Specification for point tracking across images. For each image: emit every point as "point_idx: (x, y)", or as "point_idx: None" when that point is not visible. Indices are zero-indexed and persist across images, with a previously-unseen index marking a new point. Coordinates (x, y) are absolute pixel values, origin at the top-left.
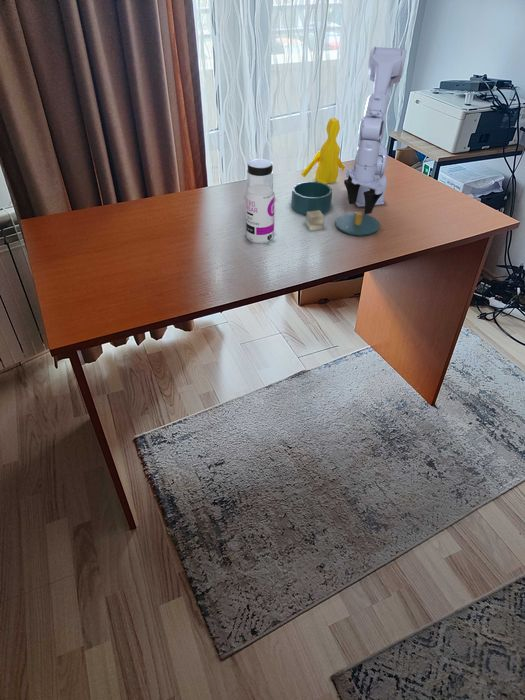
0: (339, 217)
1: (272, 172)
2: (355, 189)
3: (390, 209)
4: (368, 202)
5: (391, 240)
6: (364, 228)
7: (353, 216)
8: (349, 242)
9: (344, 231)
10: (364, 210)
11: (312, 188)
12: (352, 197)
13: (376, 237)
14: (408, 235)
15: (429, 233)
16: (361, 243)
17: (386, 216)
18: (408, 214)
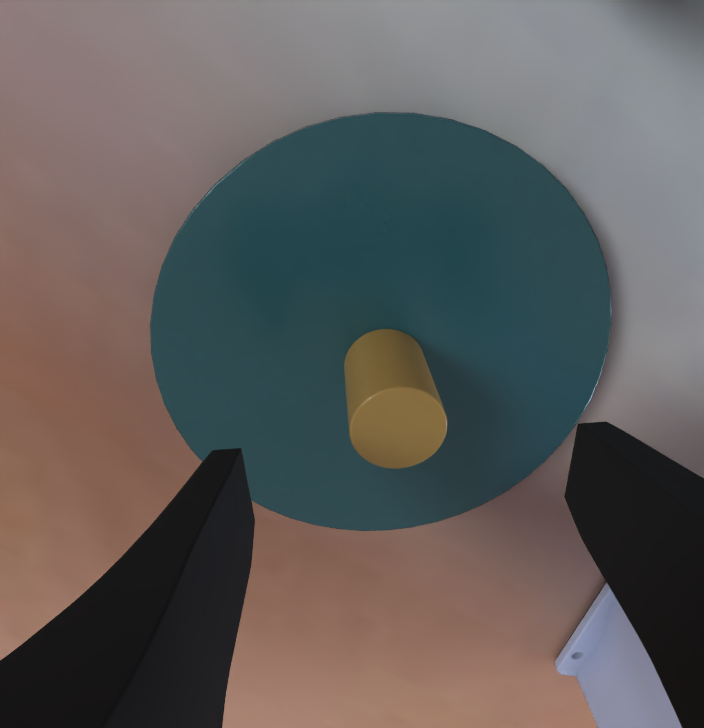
0: (591, 265)
1: None
2: (702, 668)
3: (475, 661)
4: (55, 622)
5: (44, 465)
6: (261, 366)
7: (519, 400)
8: (99, 73)
9: (295, 131)
10: (225, 471)
11: None
12: (626, 514)
13: (128, 390)
14: None
15: None
16: (46, 195)
17: (407, 604)
18: (359, 704)
